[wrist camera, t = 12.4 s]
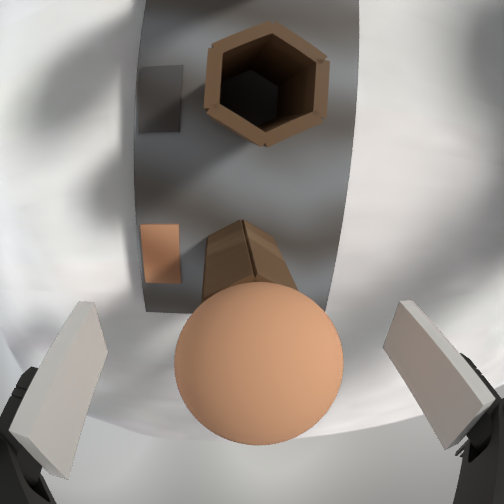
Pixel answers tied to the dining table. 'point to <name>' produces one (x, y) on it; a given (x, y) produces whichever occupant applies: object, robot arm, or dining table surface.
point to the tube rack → (242, 145)
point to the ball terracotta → (258, 363)
